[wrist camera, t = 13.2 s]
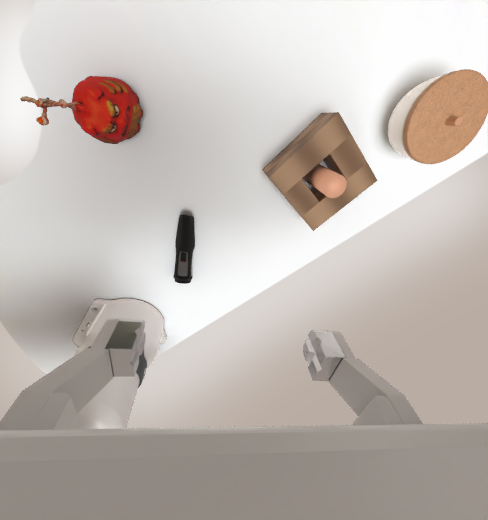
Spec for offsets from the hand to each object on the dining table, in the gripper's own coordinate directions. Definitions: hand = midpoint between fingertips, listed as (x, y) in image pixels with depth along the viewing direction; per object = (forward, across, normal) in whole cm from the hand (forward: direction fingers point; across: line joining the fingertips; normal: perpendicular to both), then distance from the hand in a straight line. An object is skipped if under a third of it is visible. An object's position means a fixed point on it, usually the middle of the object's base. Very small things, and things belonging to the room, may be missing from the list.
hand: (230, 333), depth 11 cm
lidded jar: (+33, -28, -14) cm, 46 cm away
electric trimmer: (+34, +6, +14) cm, 37 cm away
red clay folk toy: (+33, +16, -7) cm, 38 cm away
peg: (+33, -15, -4) cm, 36 cm away
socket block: (+33, -15, -4) cm, 36 cm away
